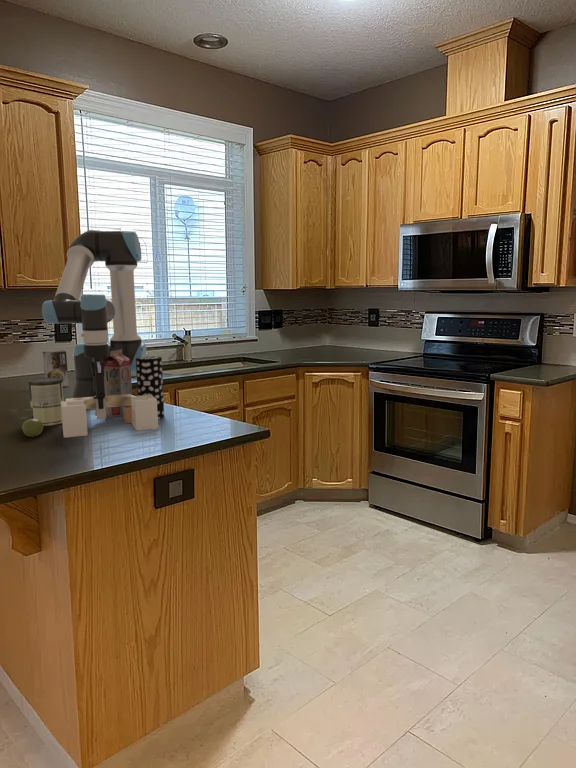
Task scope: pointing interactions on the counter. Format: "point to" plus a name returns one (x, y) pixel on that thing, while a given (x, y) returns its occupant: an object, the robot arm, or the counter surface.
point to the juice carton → (117, 379)
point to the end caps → (140, 409)
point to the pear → (32, 427)
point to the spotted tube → (151, 380)
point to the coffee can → (46, 400)
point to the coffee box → (56, 365)
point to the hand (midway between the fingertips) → (100, 416)
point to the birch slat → (106, 401)
